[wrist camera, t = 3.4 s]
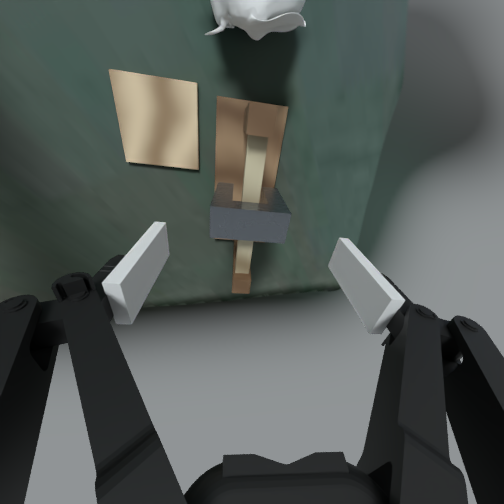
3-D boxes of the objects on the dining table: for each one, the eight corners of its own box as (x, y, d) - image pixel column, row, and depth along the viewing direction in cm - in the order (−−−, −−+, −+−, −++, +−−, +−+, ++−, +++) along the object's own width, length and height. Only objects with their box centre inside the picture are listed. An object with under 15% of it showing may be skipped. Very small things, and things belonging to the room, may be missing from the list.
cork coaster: (128, 160, 30) (126, 161, 29) (111, 69, 24) (108, 68, 24) (199, 168, 31) (198, 169, 30) (197, 83, 25) (196, 82, 25)
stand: (263, 239, 38) (276, 301, 25) (214, 235, 37) (201, 297, 24) (286, 107, 27) (330, 95, 14) (217, 96, 26) (197, 73, 13)
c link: (217, 206, 25) (209, 237, 19) (218, 182, 24) (210, 206, 17) (272, 211, 26) (284, 243, 20) (276, 188, 25) (291, 214, 18)
